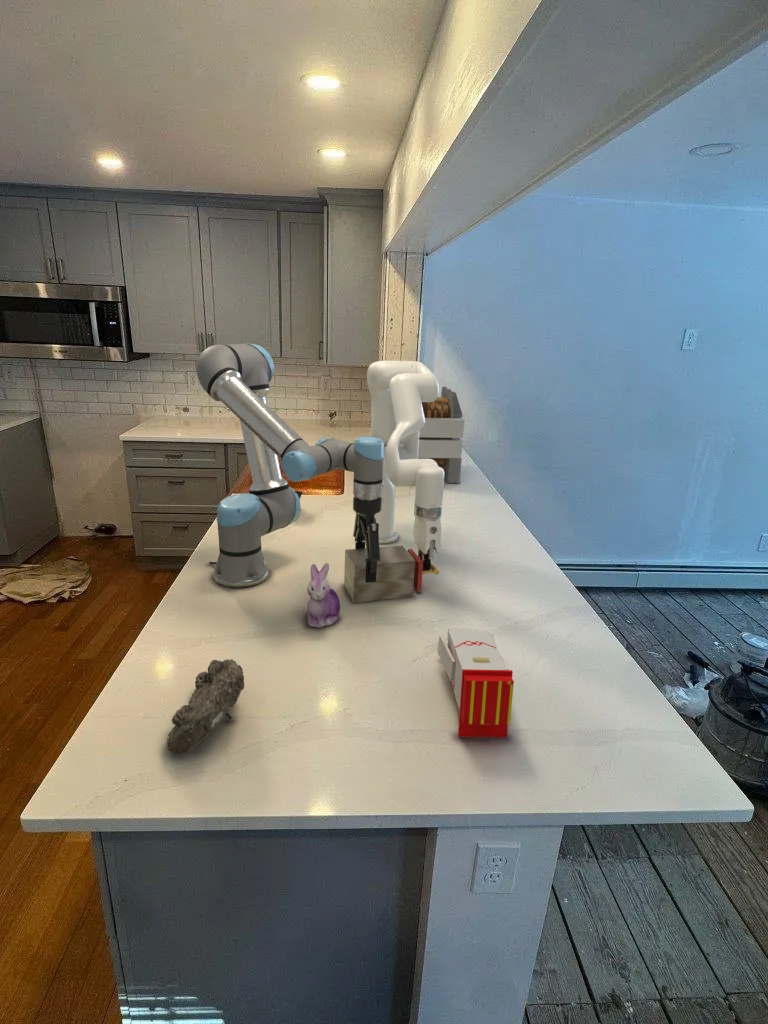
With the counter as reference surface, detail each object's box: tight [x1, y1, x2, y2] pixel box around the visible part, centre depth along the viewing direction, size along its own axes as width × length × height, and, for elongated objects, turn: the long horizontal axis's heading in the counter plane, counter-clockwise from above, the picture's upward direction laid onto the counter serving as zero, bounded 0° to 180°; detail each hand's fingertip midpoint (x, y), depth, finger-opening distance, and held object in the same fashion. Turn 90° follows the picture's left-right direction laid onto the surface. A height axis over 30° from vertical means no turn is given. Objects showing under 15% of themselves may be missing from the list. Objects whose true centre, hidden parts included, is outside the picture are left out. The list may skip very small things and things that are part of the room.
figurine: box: [306, 562, 341, 628], centre depth 141 cm, size 9×10×15 cm
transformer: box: [383, 386, 465, 484], centre depth 268 cm, size 34×33×41 cm
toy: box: [437, 628, 515, 738], centre depth 117 cm, size 12×13×30 cm
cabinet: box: [343, 544, 415, 604], centre depth 157 cm, size 17×11×11 cm, turn 107°
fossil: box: [166, 658, 245, 754], centre depth 106 cm, size 22×10×15 cm
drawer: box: [407, 548, 440, 593], centre depth 159 cm, size 21×10×9 cm, turn 107°
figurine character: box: [294, 490, 303, 511], centre depth 212 cm, size 7×8×15 cm
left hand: (365, 572), depth 156 cm, fingers closed on cabinet, 11 cm apart
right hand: (423, 571), depth 161 cm, fingers closed
